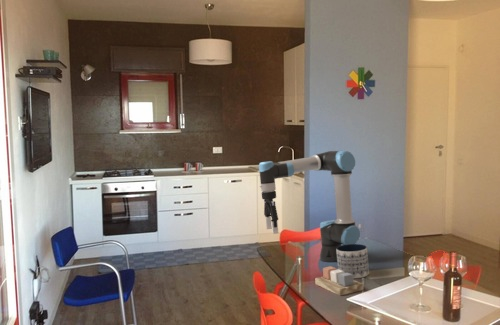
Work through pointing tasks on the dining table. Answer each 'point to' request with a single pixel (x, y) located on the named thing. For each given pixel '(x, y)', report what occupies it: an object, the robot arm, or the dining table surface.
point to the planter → (353, 259)
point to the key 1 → (328, 272)
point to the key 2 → (346, 279)
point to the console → (338, 286)
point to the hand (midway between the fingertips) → (272, 231)
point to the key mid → (335, 275)
